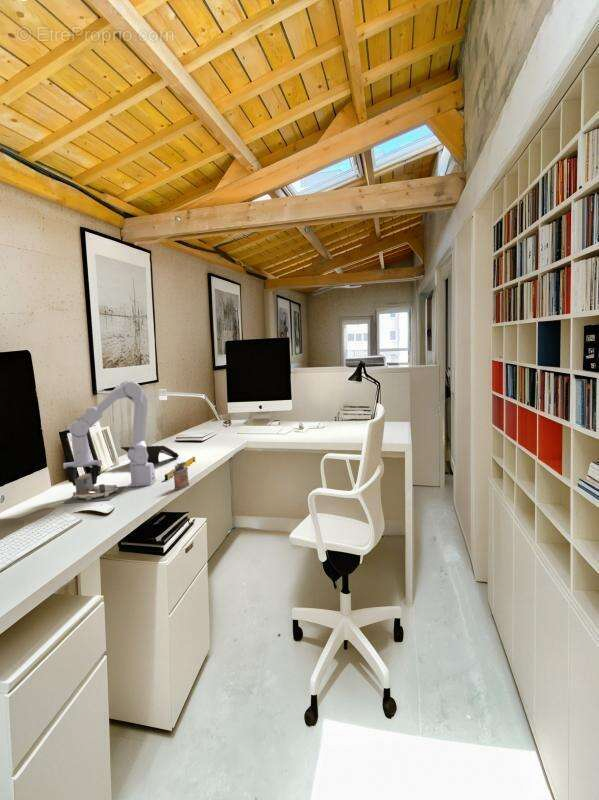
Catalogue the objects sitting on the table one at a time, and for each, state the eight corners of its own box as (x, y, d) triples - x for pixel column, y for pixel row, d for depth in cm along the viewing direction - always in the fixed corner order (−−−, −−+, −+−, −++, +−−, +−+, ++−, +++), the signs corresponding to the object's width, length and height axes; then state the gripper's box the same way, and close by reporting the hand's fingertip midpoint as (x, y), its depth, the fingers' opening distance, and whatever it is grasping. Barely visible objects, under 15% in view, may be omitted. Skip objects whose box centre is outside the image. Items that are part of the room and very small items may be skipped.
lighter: (179, 490, 182) (177, 465, 181) (172, 490, 183) (170, 465, 182) (191, 484, 190) (189, 461, 189) (184, 484, 191) (182, 460, 190)
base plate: (126, 486, 193) (126, 485, 193) (110, 500, 175) (109, 499, 175) (83, 489, 193) (83, 488, 192) (62, 503, 175) (62, 502, 175)
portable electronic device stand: (181, 469, 243) (183, 452, 246) (162, 459, 222) (164, 441, 225) (141, 470, 247) (143, 454, 250) (118, 461, 225) (121, 443, 229)
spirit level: (193, 462, 232) (192, 456, 231) (195, 462, 231) (195, 456, 231) (165, 481, 199) (164, 474, 198) (168, 481, 198) (167, 474, 198)
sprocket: (105, 485, 196) (104, 475, 195) (126, 490, 185) (125, 480, 184) (64, 496, 183) (63, 485, 182) (85, 502, 172) (84, 491, 171)
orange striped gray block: (94, 487, 187) (92, 473, 186) (85, 493, 179) (83, 478, 179) (85, 488, 187) (83, 473, 186) (76, 494, 179) (74, 479, 178)
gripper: (57, 454, 177) (61, 488, 179) (95, 452, 178) (99, 486, 179) (66, 450, 184) (70, 483, 186) (102, 448, 185) (106, 481, 186)
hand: (85, 484), depth 183 cm, fingers open, 7 cm apart
